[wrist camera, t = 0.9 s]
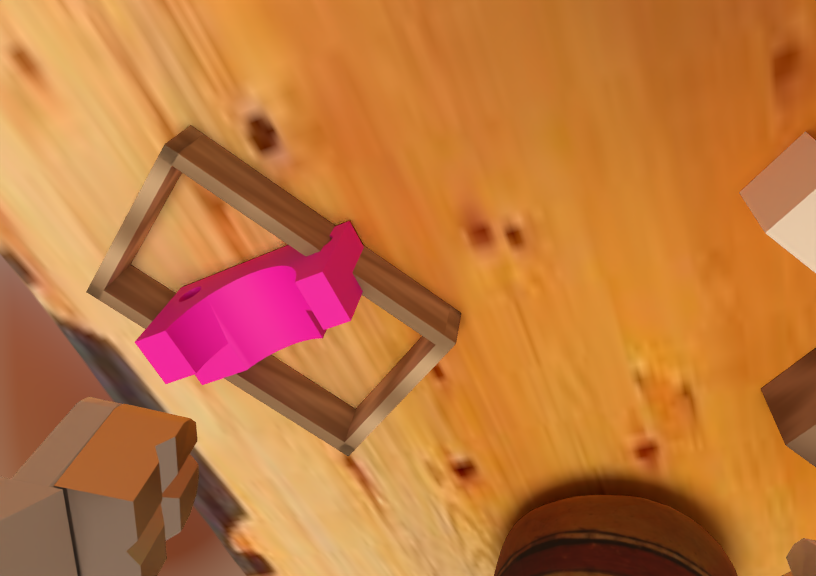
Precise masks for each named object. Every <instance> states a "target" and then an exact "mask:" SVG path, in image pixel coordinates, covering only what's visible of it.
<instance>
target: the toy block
mask: <svg viewBox="0 0 816 576" xmlns="http://www.w3.org/2000/svg"><path fill="white" fill-rule="evenodd" d="M329 236H330V237H331V238H332V240H331V241H330V242H329V243H327V244H326V245H324V246H323V248H322V250H321V251H320V252H317V253H314V254H312V255H309V256H307V257H306V256H304V255H303V254H301V253H300V252H298V251H297V250H295V249H294V248H293V247H291V246H290V245H287V246H285V247H282V248H280V249H277V250H275V251H272V252H270V253H267V254H265V255H262V256H260V257H257V258H255V259H252V260H250V261H247V262H244V263H242V264H239V265H237V266H234V267H232V268H229V269H227V270H224V271H222V272H219V273H217V274H214V275H212V276H209V277H207V278H204V279H202V280H199V281H197V282H194V283H192V284H189V285H187V286H184V287H182V288H180V290H179V291H178V292H177V293H176V294H175V295H174V297H173V298H172V299H171V300H170V301H169V302H168V304H167V305H166V306H165V307H164V308H163V310H162V311H161V312H160V313H159V314H158V315H157V317H156V318H155V319H154V320H153V321H152V322H151V324H150V325H149V326H148V327H147V328H146V329H145V331H144V332H143V333H142V334H141V335H140V337H139V338H138V339H137V340H136V341H135V343H136V345H137V346H138V347H139V349H140V350H141V351H142V353H143V354H144V355H145V357H146V358H147V359H148V361H149V362H150V363H151V365H152V366H153V367H154V369H155V370H156V372H157V373H158V374H159V376H160V377H161V378H162V380H163V381H164V382H165V384H168V383H171V382H173V381H176V380H179V379H182V378H185V377H188V376H191V375H194V374H195V376H196V377H197V378H198V380H199V381H200V383H201V384H202V385H204V384H207V383H210V382H213V381H216V380H219V379H222V378H225V377H228V376H231V375H234V374H237V373H240V372H243V371H246V370H248V369H249V368H250V367H252V366H253V365H255V364H256V363H258V362H259V361H261V360H262V359H264V358H266V357H267V356H269V355H271V354H273V353H275V352H277V351H278V350H281V349H283V348H285V347H287V346H290V345H292V344H295V343H298V342H302V341H305V340H310V339H317V338H323V337H324V334H325V332H326V330H327V329H328V328H331V327H334V326H337V325H340V324H343V323H346V322H348V321H351V319H352V317H353V314H354V312H355V309H356V307H357V305H358V302H359V300H360V297H361V295H362V292H363V291H362V289H361V287H360V285H359V284H358V282H357V280H356V278H355V277H354V275H353V273H352V272H353V270H354V268H355V266H356V264H357V261H358V259H359V257H360V255H361V253H362V250H363V248H364V247H363V245H362V243H361V241H360V239H359V237H358V236H357V234H356V232H355V230H354V228H353V226H352V225H351V223H350V221H348V222H345V223H343V224H340V225H338V226H335V227H334V228H333V230H332V232H331V234H330V235H329Z"/></svg>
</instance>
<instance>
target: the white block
mask: <svg viewBox="0 0 816 576" xmlns="http://www.w3.org/2000/svg"><path fill="white" fill-rule="evenodd" d="M739 193H740V195H741V196H742V198H743V199H744V201H745V202H746V204H747V206H748V207H749V209H750V210H751V212H752V213H753V215H754V216H755V218H756V219H757V221H758V223H759V224H760V226H761V227H762V229H763V230H764V232H765V233H766V234H767V235H768V236H770V237H771V238H772V239H773V240H775V241H776V242H777V243H778V244H780V245H781V246H782V247H783V248H785V249H786V250H787V251H789V252H790V253H791V254H792V255H794V256H795V257H796V258H797V259H799V260H800V261H801V262H802V263H804V264H805V265H806V266H807V267H809V268H810V269H811V270H812V271H814V272H815V273H816V140H815V139H814V138H813V137H811V136H810V135H809V134H808V133H807V132H804V133H803V134H802V135H801V136H800V137H799V138H798V139H797V140H796V141H794V142H793V143H792V144H791V145H790V146H789V147H788V148H787V149H786V150H785V151H784V152H783V153H781V154H780V155H779V156H778V157H777V158H776V159H775V160H774V161H773V162H772V163H771V164H770V165H768V166H767V167H766V168H765V169H764V170H763V171H762V172H761V173H760V174H759V175H758V176H757V177H755V178H754V179H753V180H752V181H751V182H750V183H749V184H748V185H747V186H746V187H745V188H744V189H742V190H741V191H740V192H739Z"/></svg>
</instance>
